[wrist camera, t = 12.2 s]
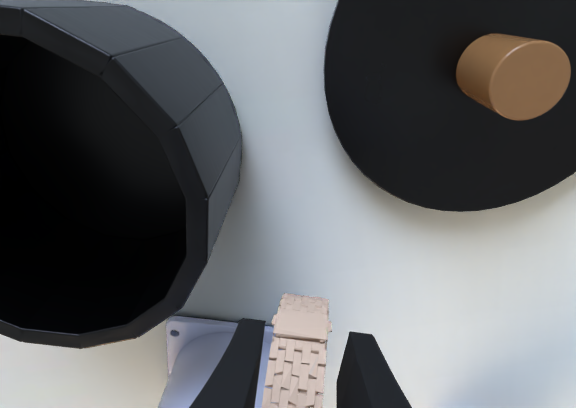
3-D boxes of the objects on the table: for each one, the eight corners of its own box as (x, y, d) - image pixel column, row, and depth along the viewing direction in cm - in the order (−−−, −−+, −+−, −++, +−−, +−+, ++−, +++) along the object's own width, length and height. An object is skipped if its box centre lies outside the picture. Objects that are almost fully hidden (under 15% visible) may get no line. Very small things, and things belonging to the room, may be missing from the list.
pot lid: (564, 215, 19) (629, 269, 15) (305, 185, 19) (304, 231, 15) (720, -109, 13) (888, -155, 9) (351, -154, 13) (369, -218, 9)
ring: (263, 369, 14) (223, 546, 9) (266, 254, 11) (216, 415, 7) (341, 380, 13) (339, 568, 9) (360, 265, 11) (369, 438, 7)
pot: (236, 257, 21) (205, 364, 15) (19, 232, 21) (-102, 328, 15) (249, 19, 16) (211, 29, 10) (-39, -15, 16) (-265, -27, 9)
